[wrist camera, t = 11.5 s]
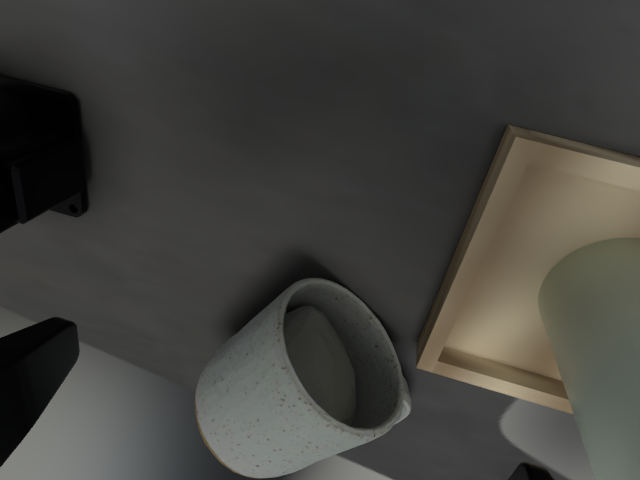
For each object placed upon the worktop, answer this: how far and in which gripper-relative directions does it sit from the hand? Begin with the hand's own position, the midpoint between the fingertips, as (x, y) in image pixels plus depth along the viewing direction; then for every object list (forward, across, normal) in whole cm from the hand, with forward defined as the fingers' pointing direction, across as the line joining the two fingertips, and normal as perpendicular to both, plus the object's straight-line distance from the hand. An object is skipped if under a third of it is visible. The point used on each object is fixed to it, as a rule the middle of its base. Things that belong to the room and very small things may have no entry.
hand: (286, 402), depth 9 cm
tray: (+13, -12, +2) cm, 18 cm away
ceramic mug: (+13, -1, +10) cm, 17 cm away
